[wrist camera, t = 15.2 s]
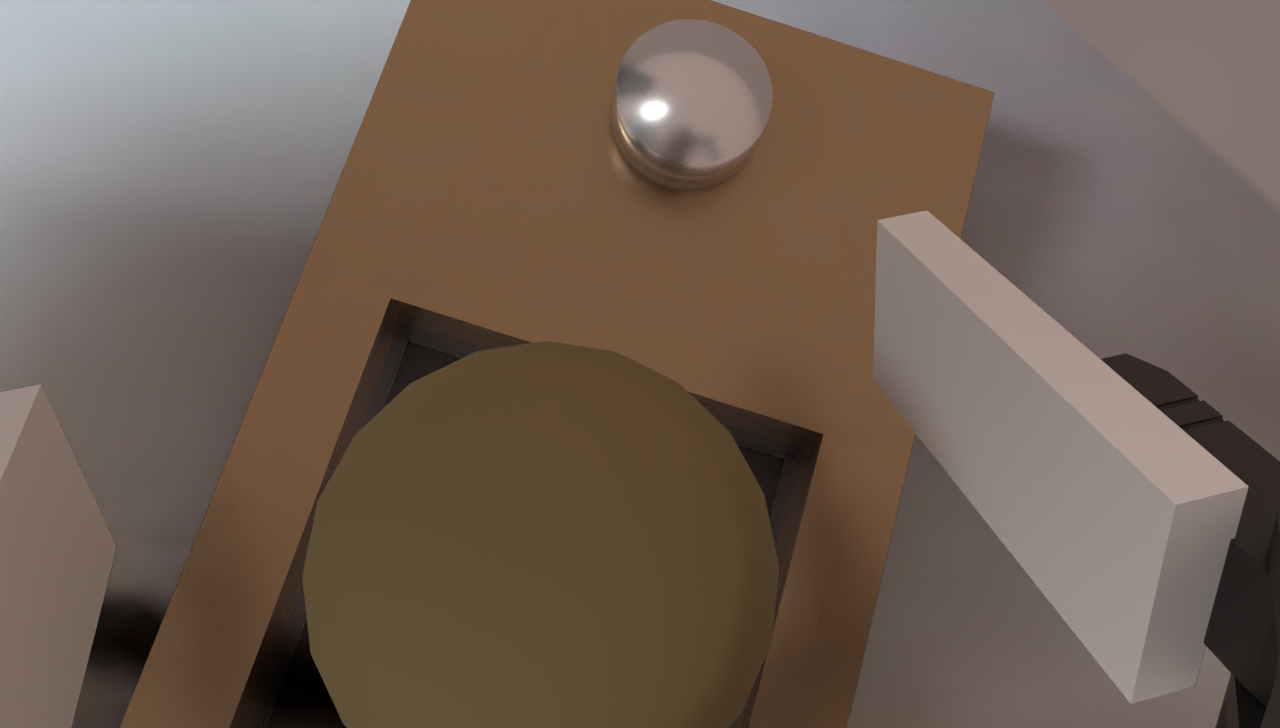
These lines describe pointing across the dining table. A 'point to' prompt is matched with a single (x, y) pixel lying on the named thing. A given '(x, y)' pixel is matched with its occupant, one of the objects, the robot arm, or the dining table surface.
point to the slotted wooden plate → (597, 298)
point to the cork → (541, 553)
